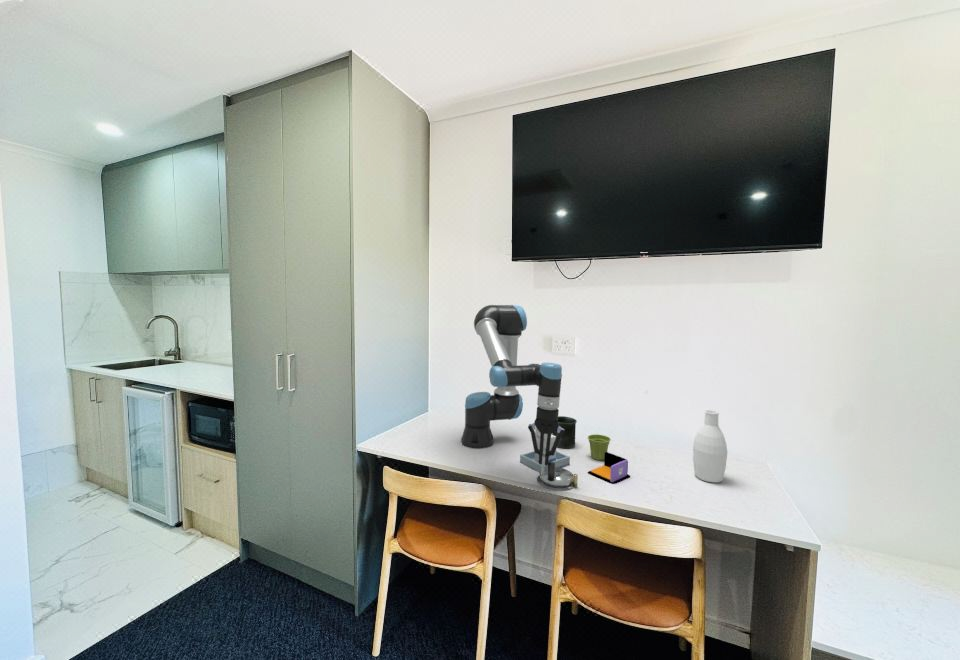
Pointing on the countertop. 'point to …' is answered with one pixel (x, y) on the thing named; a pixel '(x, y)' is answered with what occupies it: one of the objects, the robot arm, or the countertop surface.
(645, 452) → the countertop surface
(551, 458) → the ink box
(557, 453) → the tray
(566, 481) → the crank
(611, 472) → the miniature room corner
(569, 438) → the mug
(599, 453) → the plant pot
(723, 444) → the bottle
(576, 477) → the crank base
